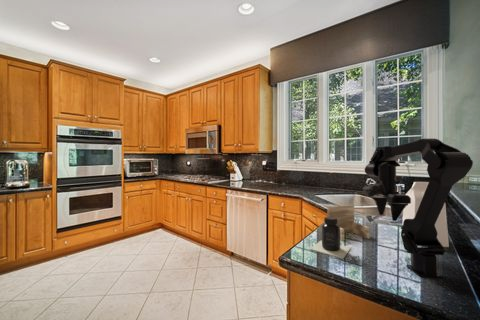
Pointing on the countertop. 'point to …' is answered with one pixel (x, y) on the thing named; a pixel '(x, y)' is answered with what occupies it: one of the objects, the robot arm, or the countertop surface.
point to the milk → (411, 209)
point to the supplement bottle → (331, 234)
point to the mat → (340, 253)
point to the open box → (347, 221)
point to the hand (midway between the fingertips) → (387, 217)
